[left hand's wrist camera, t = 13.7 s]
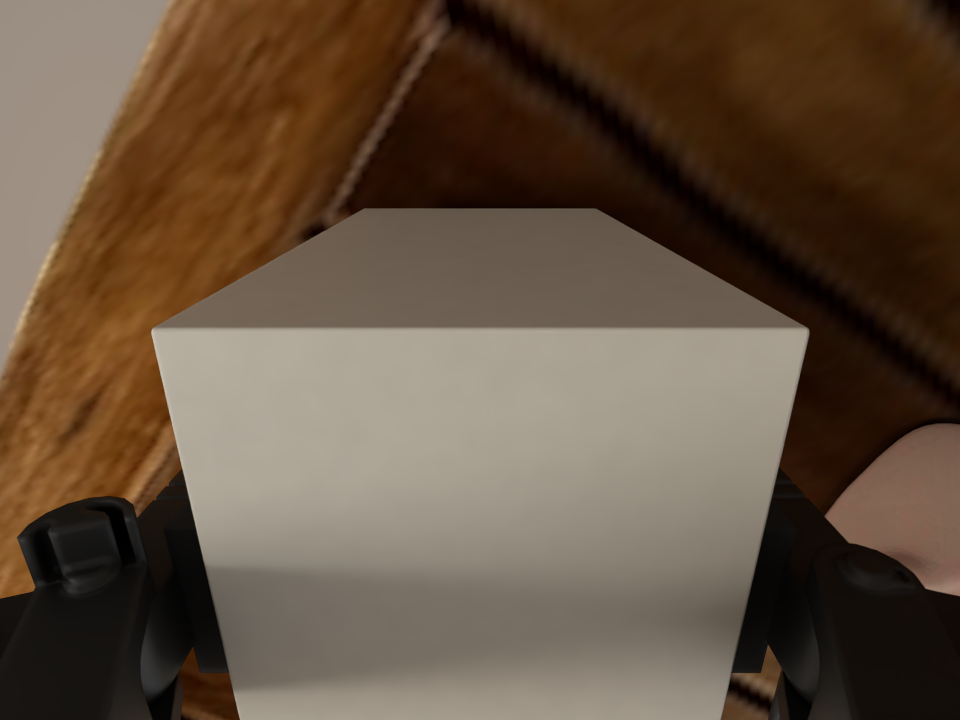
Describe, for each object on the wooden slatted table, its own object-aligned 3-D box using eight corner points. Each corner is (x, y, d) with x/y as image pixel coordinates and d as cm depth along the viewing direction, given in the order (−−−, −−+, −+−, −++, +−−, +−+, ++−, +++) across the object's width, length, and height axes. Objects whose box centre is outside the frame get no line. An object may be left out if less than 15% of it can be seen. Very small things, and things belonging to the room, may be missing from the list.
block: (362, 208, 17) (147, 328, 6) (597, 208, 17) (812, 328, 6) (381, 451, 20) (261, 823, 9) (578, 451, 20) (698, 823, 9)
